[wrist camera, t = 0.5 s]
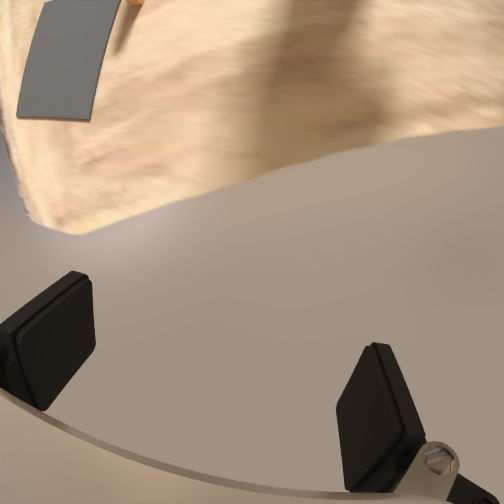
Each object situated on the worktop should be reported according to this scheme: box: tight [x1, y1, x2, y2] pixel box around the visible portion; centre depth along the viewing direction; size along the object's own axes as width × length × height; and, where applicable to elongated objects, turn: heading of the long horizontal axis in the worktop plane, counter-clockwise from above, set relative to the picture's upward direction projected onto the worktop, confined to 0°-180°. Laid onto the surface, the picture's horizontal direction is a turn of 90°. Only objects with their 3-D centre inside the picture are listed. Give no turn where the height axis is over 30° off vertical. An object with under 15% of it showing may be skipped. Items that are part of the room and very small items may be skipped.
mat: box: [16, 0, 121, 119], centre depth 32 cm, size 20×16×1 cm
